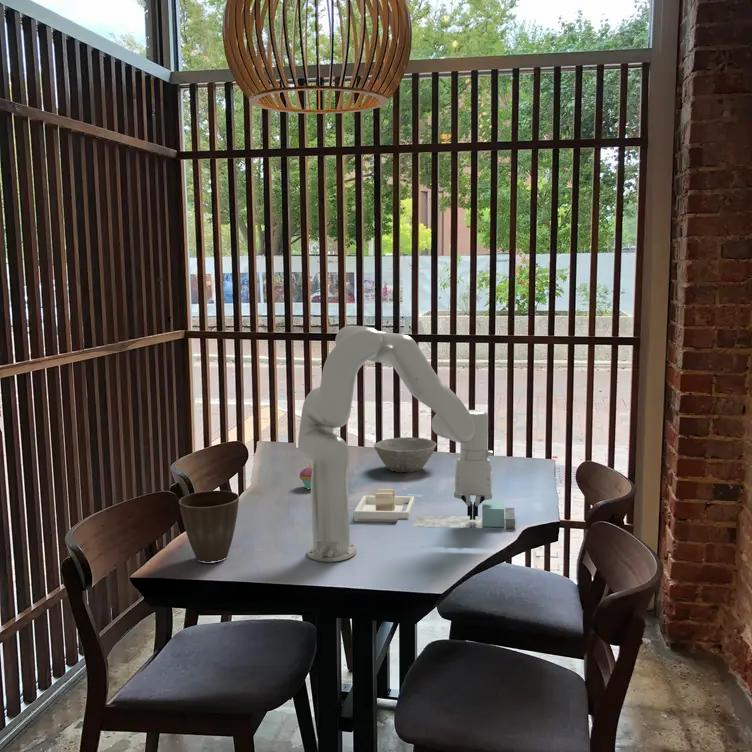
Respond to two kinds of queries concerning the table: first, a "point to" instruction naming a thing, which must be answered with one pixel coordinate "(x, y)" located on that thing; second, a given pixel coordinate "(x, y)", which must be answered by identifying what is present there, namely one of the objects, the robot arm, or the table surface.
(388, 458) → the ceramic bowl
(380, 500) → the wooden block
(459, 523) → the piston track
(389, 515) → the tray
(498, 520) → the teal block
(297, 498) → the table surface
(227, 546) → the plant pot
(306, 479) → the cupcake
